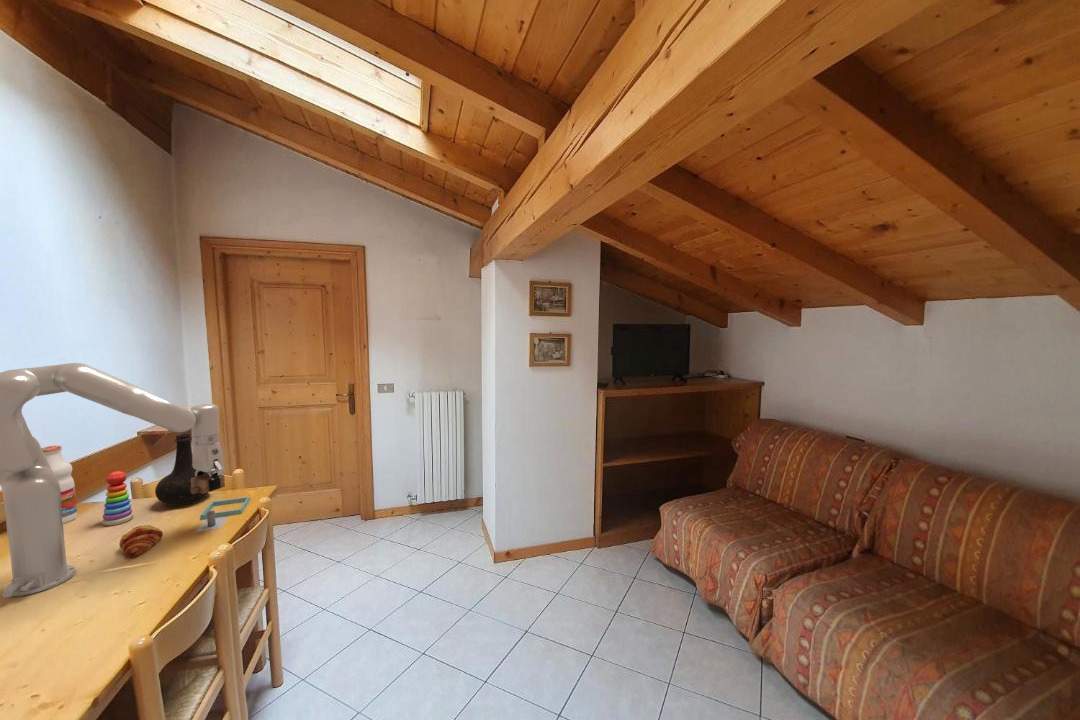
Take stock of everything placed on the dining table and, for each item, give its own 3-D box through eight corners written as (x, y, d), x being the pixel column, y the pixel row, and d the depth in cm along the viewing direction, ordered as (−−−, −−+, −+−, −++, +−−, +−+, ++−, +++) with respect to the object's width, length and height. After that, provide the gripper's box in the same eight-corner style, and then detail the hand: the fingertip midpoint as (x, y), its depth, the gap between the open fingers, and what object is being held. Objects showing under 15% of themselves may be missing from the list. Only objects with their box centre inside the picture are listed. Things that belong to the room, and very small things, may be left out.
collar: (224, 486, 145) (224, 474, 144) (198, 495, 137) (197, 482, 137) (213, 483, 147) (212, 471, 147) (186, 491, 139) (186, 479, 139)
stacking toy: (117, 526, 143) (113, 476, 142) (95, 526, 144) (91, 476, 142) (139, 516, 151) (135, 468, 150) (119, 515, 151) (115, 468, 150)
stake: (220, 529, 142) (219, 514, 142) (195, 533, 140) (194, 518, 139) (228, 518, 151) (227, 504, 150) (205, 521, 148) (204, 507, 147)
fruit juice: (43, 519, 148) (36, 446, 145) (81, 512, 153) (74, 442, 151) (32, 530, 140) (24, 453, 138) (72, 522, 146) (65, 448, 143)
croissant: (137, 544, 139) (120, 528, 136) (170, 523, 144) (155, 507, 141) (123, 573, 122) (103, 555, 119) (161, 549, 127) (143, 531, 124)
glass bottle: (149, 514, 153) (143, 443, 150) (165, 496, 168) (160, 432, 166) (208, 505, 161) (204, 437, 159) (218, 488, 177) (214, 427, 174)
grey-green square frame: (241, 515, 153) (241, 509, 153) (200, 521, 148) (200, 515, 148) (250, 501, 165) (250, 496, 164) (212, 506, 160) (212, 501, 159)
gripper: (233, 439, 142) (235, 488, 143) (203, 433, 148) (205, 480, 149) (209, 445, 135) (211, 496, 136) (178, 438, 141) (181, 487, 142)
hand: (208, 487), depth 143 cm, fingers closed on collar, 6 cm apart
